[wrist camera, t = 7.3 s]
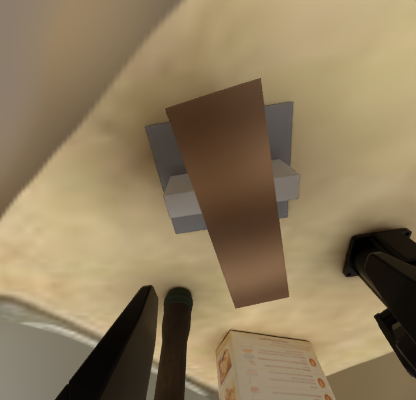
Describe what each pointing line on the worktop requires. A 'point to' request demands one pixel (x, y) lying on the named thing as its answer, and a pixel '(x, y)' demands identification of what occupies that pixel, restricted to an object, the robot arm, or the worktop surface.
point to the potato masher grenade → (174, 345)
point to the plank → (235, 187)
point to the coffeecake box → (269, 369)
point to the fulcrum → (180, 182)
